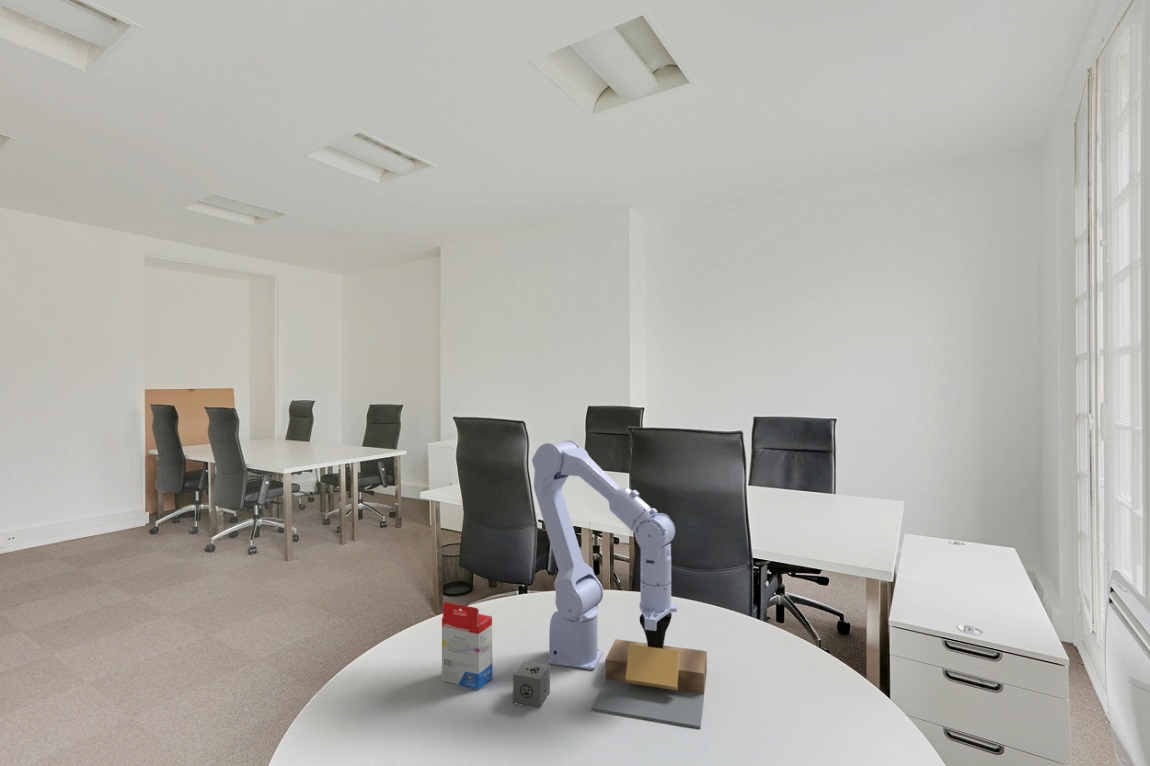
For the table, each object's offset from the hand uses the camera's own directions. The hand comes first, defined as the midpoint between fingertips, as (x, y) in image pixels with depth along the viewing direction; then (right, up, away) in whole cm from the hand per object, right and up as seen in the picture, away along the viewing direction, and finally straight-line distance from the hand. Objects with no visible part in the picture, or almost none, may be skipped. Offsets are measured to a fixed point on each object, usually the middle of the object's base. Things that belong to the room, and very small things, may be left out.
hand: (655, 653), depth 103 cm
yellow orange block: (-1, -1, -3) cm, 3 cm away
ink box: (-35, -5, 0) cm, 36 cm away
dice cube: (-23, -5, -6) cm, 24 cm away
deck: (0, -5, +1) cm, 5 cm away
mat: (-2, -5, -7) cm, 9 cm away
